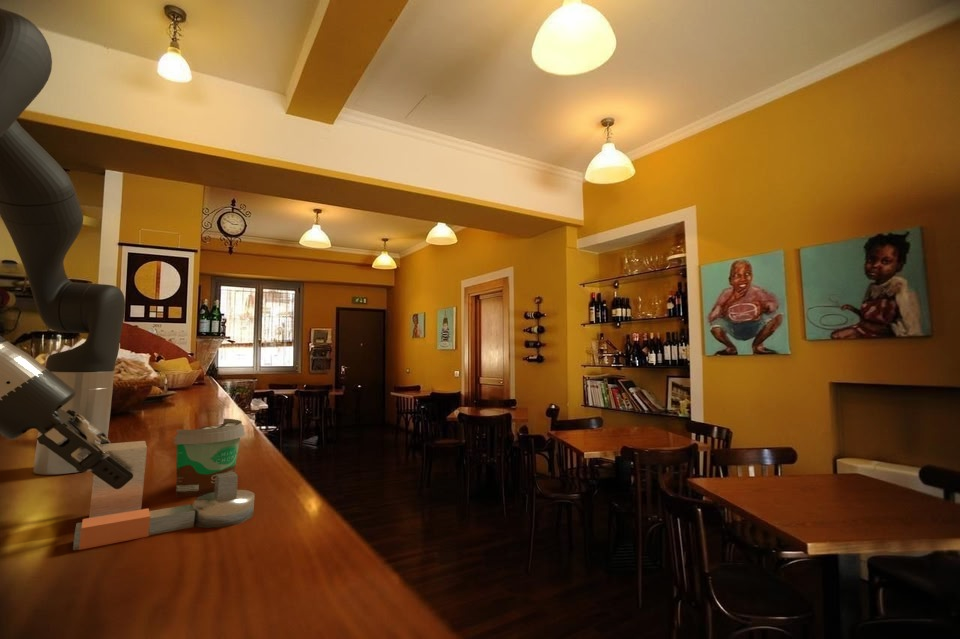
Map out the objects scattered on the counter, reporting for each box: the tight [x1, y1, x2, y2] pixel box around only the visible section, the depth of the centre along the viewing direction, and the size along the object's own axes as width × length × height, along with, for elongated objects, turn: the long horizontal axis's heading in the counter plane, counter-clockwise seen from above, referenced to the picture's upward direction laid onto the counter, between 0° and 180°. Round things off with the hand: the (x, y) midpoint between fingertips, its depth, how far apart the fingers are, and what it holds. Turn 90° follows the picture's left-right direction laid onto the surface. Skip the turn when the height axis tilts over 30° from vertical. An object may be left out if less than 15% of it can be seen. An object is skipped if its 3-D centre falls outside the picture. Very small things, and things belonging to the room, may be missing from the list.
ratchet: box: [72, 471, 256, 551], centre depth 54 cm, size 7×18×6 cm, turn 131°
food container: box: [173, 418, 246, 498], centre depth 69 cm, size 12×6×10 cm, turn 179°
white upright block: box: [88, 440, 148, 518], centre depth 56 cm, size 5×5×9 cm
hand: (125, 474), depth 57 cm, fingers open, 8 cm apart
